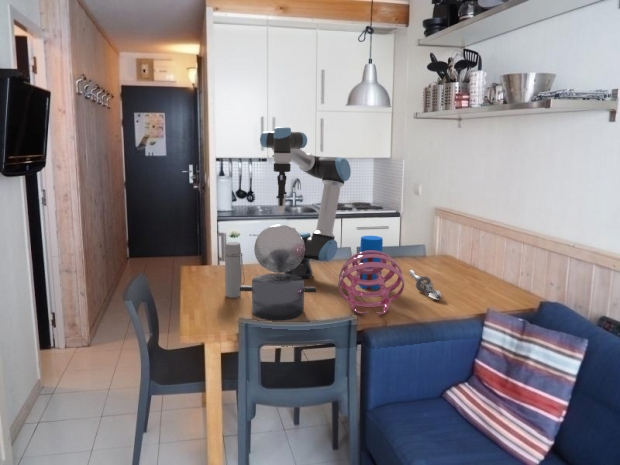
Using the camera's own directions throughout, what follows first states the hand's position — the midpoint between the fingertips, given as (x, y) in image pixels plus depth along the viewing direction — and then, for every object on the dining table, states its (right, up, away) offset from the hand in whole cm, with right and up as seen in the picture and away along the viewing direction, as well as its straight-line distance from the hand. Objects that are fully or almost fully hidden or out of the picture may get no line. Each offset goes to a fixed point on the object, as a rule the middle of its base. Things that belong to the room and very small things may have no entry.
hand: (281, 210), depth 232 cm
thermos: (+43, -37, +27) cm, 63 cm away
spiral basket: (+39, -44, -7) cm, 59 cm away
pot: (-1, -44, -12) cm, 45 cm away
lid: (0, -17, -8) cm, 19 cm away
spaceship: (+68, -39, +21) cm, 81 cm away
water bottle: (-22, -39, +8) cm, 46 cm away
